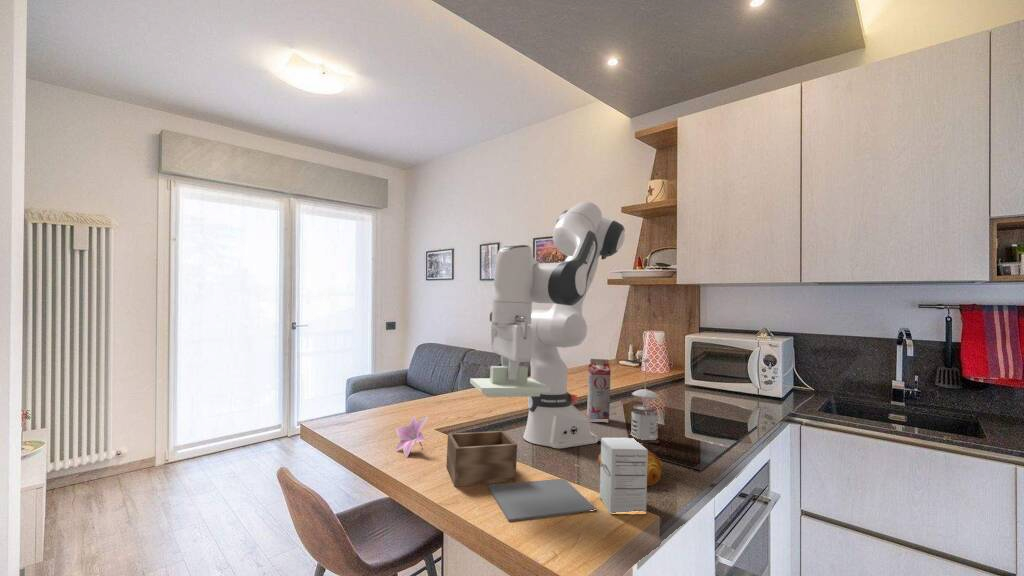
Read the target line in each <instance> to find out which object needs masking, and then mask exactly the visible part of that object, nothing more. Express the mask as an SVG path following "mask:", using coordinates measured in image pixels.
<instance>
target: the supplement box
mask: <svg viewBox="0 0 1024 576" xmlns="http://www.w3.org/2000/svg"><path fill="white" fill-rule="evenodd" d="M648 451H649V450H648V448H646V447H645V446H643V445H642V443H639V442H637V441H636V440H635V439H634V438H628V437H601V442H600V453H601V468H600V467H599V469H600V473H599V474H600V475H599V478H600V479H599V499H600V498H601V499H602V500H603V501H602V500H601V499H600V500H601V501H602V502H604V503H605V504H604V503H603V504H604V506H605V505H606V506H607V507H606V506H605V507H606V509H607V508H608V509H609V510H608V509H607V510H608V512H609V511H610V512H611V513H616V512H629V511H630V512H631V511H644V512H646V513H647V496H648V494H647V491H648V486H647V464H648ZM610 512H609V513H610Z"/></svg>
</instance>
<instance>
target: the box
mask: <svg viewBox="0 0 1024 576" xmlns="http://www.w3.org/2000/svg"><path fill="white" fill-rule="evenodd" d="M446 445H447V447H446V448H447V449H446V466H445V468H446V471H447V472H448V476H449V478H450V479H451V483H452V485H453V487H461V486H472V485H473V486H474V485H484V484H495V483H505V482H504V481H508V482H512V481H511V480H516V481H517V461H518V460H517V458H518V455H517V454H518V444H517V443H516V442H515V441H514V440H513V439H512V438H511V437H510V436H509V435H508V434H507V433H506V432H505V431H504V430H496V431H495V430H493V431H477V432H473V431H471V432H459V433H458V432H457V433H447V444H446Z"/></svg>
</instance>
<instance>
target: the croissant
mask: <svg viewBox="0 0 1024 576" xmlns="http://www.w3.org/2000/svg"><path fill="white" fill-rule="evenodd" d="M597 464H598V467H599V469H600V468H601V452H600V453H599V454H598V458H597ZM662 468H663V462H662V461H661V459H660V458H659V457H658V456H657V455H656V454H655V453H653V452H652V451H650V450H648V464H647V487H649V486H653V485H655V484H657V483H658V482H659V481H660V480H661V476H662V473H663V471H662Z"/></svg>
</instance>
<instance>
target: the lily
mask: <svg viewBox="0 0 1024 576" xmlns="http://www.w3.org/2000/svg"><path fill="white" fill-rule="evenodd" d="M428 418H429V416H424V417H422V418H420V419H418V420H417V418H416V415H413V416H412V418H411V420H410V422H409V424H408V425H403V426H399V427H397V428H396V429H395V433H396V434H397V436H398V438H399V439H400V441H399V443H397V445H396V447H395V450H394V451H395V452H398V451H400V450H401V449H402V450H403V454H404V456H405V458H408V456H409V454H410V452H411V451H412V448H413V445H414V443H419V445H420V447H421V446H422V447H423V445H422V443H421V442H424V441H425V440H426V438H425V436H424V434H423V433H422V432H421V430H422V429H423V427H424V424H426V422H427V420H428Z"/></svg>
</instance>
